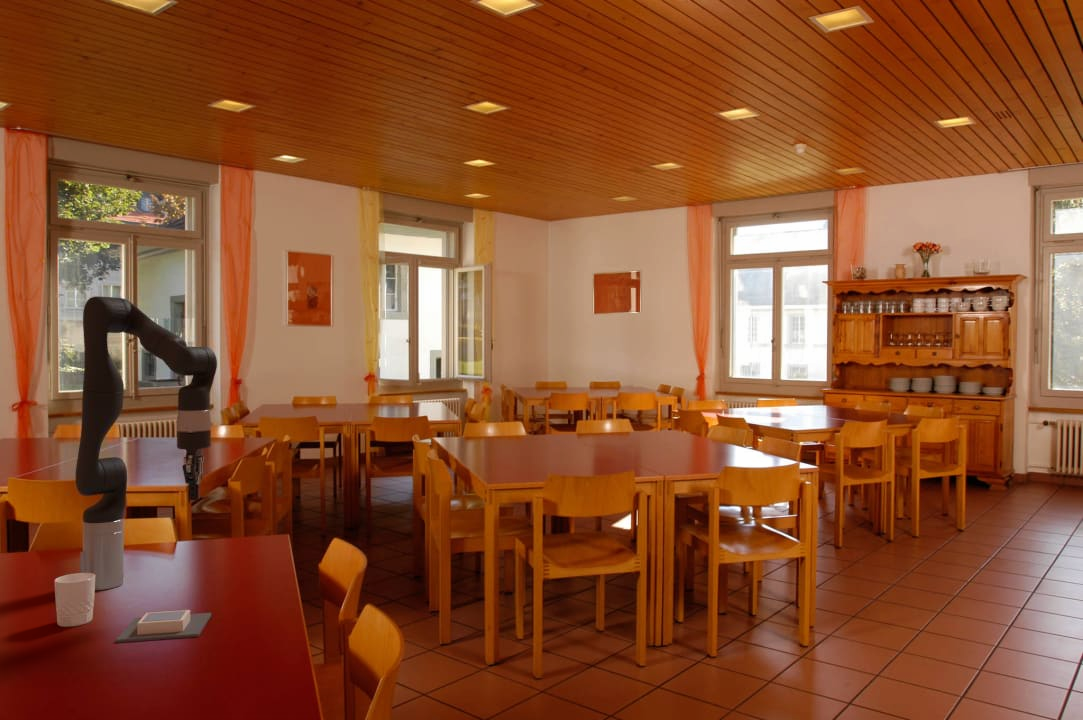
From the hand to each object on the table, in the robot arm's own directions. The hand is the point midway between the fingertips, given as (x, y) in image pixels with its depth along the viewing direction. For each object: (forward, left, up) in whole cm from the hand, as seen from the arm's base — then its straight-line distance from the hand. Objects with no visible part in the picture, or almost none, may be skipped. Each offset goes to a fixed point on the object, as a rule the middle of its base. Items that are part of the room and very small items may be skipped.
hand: (193, 499), depth 187 cm
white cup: (-23, -9, -25) cm, 35 cm away
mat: (-2, -18, -25) cm, 31 cm away
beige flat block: (-2, -16, -23) cm, 28 cm away
